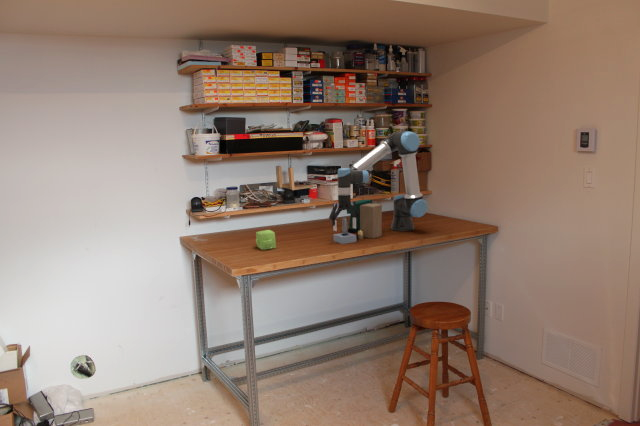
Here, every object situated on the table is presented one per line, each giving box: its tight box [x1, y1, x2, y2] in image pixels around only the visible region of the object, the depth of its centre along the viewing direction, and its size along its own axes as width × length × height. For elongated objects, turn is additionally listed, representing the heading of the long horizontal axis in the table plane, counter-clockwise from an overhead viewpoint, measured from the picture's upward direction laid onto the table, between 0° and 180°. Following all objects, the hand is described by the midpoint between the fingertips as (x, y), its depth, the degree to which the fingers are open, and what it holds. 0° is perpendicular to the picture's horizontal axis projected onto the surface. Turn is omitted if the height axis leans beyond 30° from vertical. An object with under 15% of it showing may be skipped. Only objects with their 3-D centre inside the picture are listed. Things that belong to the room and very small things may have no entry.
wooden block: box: [360, 203, 383, 239], centre depth 323 cm, size 10×10×20 cm
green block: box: [255, 229, 277, 251], centre depth 300 cm, size 18×10×10 cm, turn 23°
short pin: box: [357, 230, 364, 240], centre depth 318 cm, size 3×3×5 cm
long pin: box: [341, 217, 349, 236], centre depth 311 cm, size 3×3×14 cm
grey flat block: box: [332, 232, 357, 245], centre depth 312 cm, size 10×10×4 cm
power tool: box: [346, 198, 376, 236], centre depth 341 cm, size 32×7×20 cm, turn 146°
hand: (344, 229), depth 311 cm, fingers open, 13 cm apart
